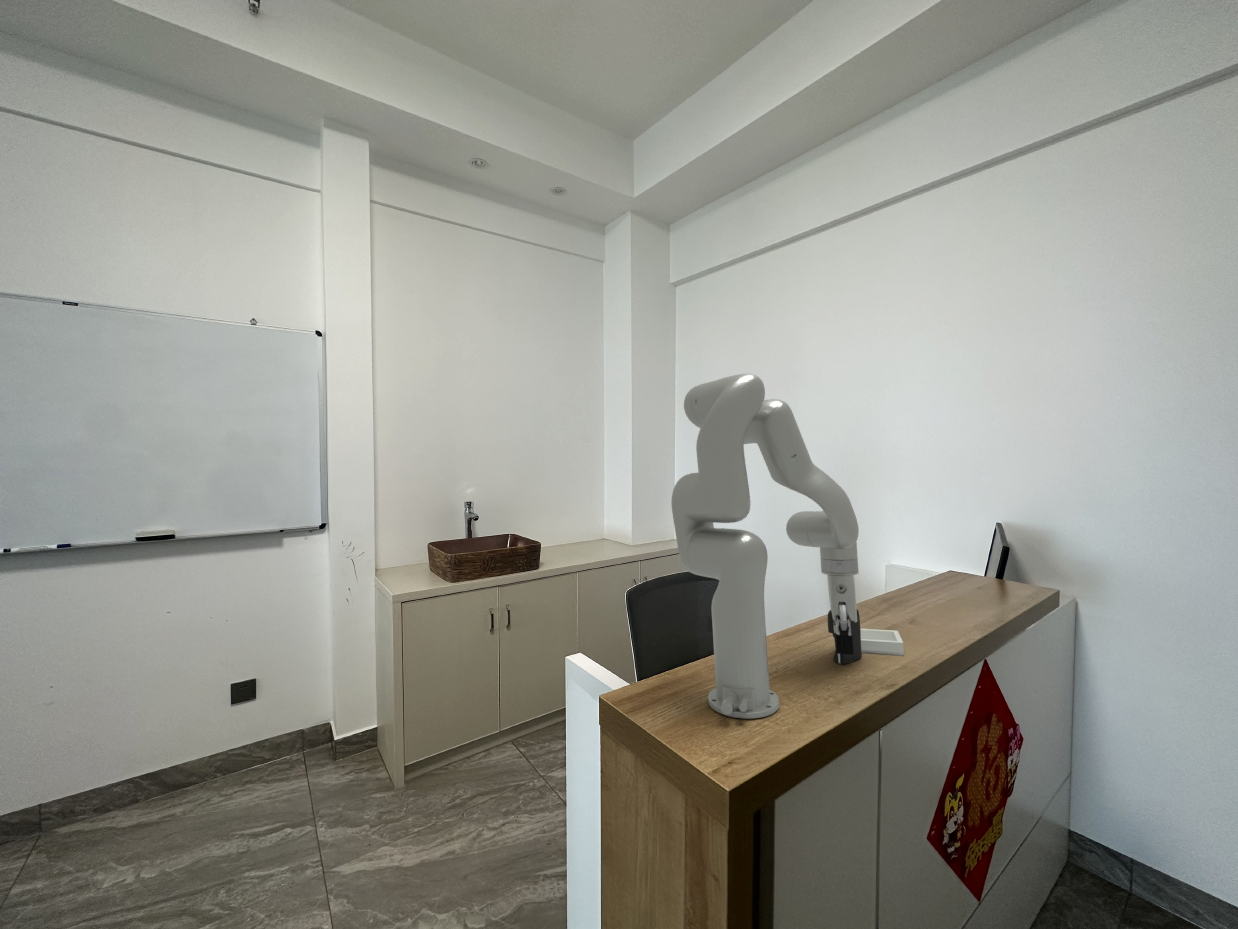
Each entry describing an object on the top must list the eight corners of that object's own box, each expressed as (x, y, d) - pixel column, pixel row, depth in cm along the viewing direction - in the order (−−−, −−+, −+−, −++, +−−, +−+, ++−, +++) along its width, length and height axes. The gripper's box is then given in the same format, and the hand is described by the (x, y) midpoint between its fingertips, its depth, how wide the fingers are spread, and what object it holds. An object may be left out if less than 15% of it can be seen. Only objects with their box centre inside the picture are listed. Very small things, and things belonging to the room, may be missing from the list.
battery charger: (848, 654, 114) (844, 603, 115) (863, 658, 111) (859, 606, 112) (827, 661, 111) (823, 608, 111) (842, 666, 108) (839, 611, 108)
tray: (904, 655, 112) (903, 642, 112) (844, 651, 116) (843, 639, 116) (898, 642, 120) (897, 630, 120) (843, 639, 124) (842, 627, 125)
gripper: (860, 574, 102) (866, 663, 102) (855, 559, 118) (860, 636, 118) (820, 573, 105) (826, 660, 104) (821, 559, 121) (825, 634, 121)
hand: (844, 647), depth 111 cm, fingers closed on battery charger, 7 cm apart
